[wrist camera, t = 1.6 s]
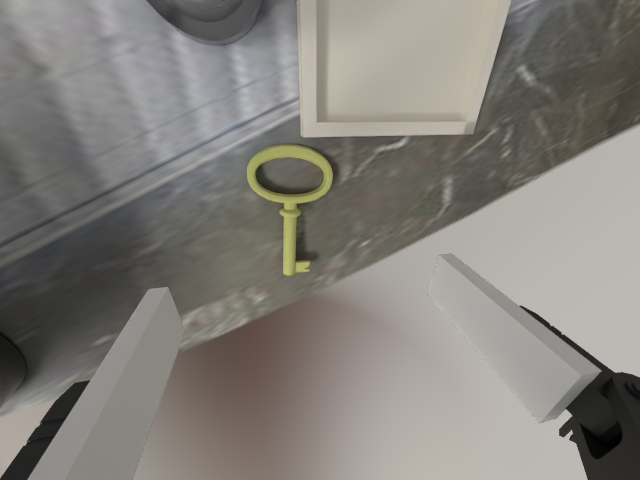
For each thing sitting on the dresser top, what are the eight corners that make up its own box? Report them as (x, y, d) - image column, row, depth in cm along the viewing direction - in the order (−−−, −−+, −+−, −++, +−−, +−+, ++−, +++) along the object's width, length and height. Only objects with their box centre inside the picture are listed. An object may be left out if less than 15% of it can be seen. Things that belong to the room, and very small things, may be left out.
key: (284, 269, 26) (285, 282, 24) (238, 154, 20) (236, 159, 18) (346, 249, 26) (353, 260, 25) (322, 130, 20) (328, 133, 18)
